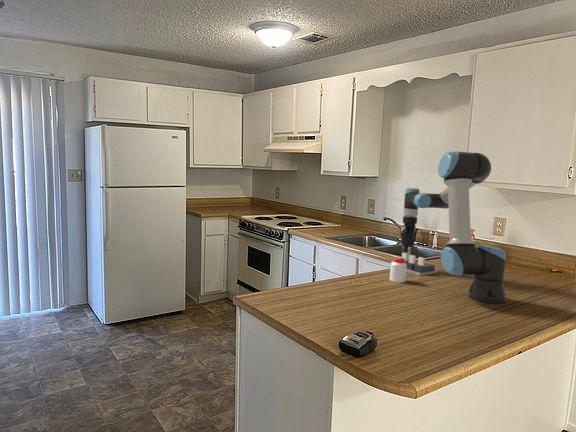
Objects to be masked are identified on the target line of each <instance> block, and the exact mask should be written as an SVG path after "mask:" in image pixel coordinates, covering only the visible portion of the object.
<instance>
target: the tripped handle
mask: <svg viewBox="0 0 576 432" xmlns="http://www.w3.org/2000/svg"><path fill="white" fill-rule="evenodd" d="M401 258H404V259H405V261H408V253H404V252H402V253H401Z"/></svg>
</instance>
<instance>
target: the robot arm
mask: <svg viewBox="0 0 576 432" xmlns="http://www.w3.org/2000/svg"><path fill="white" fill-rule="evenodd" d="M437 168H438V169H437V173H438V175H439V177H440V178H441V179H442V178H443V183H444V184H445V185H446V186H447V187H446V188H444V190H442V191H441V192H440V193H429V192H428V193H426V192H420V188H416V187H407V188H405V190H404V191H405V192H404V203H403V204H404V205H403V217H402V223H403V226H402V228H400V229H399V232H400V238H401V239H400V240H401V246H402V247H404V249H403V253H408V259H409V255H411V251H412V248H413V247H414V246H415V241H416V238H417V234H418V233H417V232H418V231H419V227H418V228H417V227H416V226H417V225H416V224H418V215H419V208H420V209H426V208H427V209H428V208H429V209H434V208H435V209H444V210H445V209H448V225H449V226H448V228H449V229H448V230H449V231H448V232H449V233H448V234H449V240H448V241H447V242H446V246H445V247H444V248H443V249H442V250H441V254H440V262H441V265H442V267H443V269H444V270H445V271H446V273H447V274H449V275H456V276H474V277H473V280H472V282H471V284H470V286H469V289H468V292H467V297H469V298H470V299H472V300H474V301H478V302H481V301H483V303H487V302H488V303H487V304H504V303H506V301H507V300H506V299H507V295H506V291H505V286H504V276H505V269H506V261H507V252H506V250H504V249H503V248H500V247H495V246H492V245H487V244H477V246H476V243H475V242H474V240H472V231H471V211H470V210H471V209H470V207H471V206H470V189H471V188H473V187H474V186H476V185H477V184H482V183H483V182H484V181H485V180H487V179H488V177H489V176H490V174H491V172H492V164H491V160H490V159H489V158H488V157H487V156H486V155H485V154H483V153H481V152H466V151H457V150H456V151H447V152H445V153H444V154H443V155H442V156H441V158H440V160H439V162H438V167H437ZM503 302H504V303H503Z"/></svg>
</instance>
